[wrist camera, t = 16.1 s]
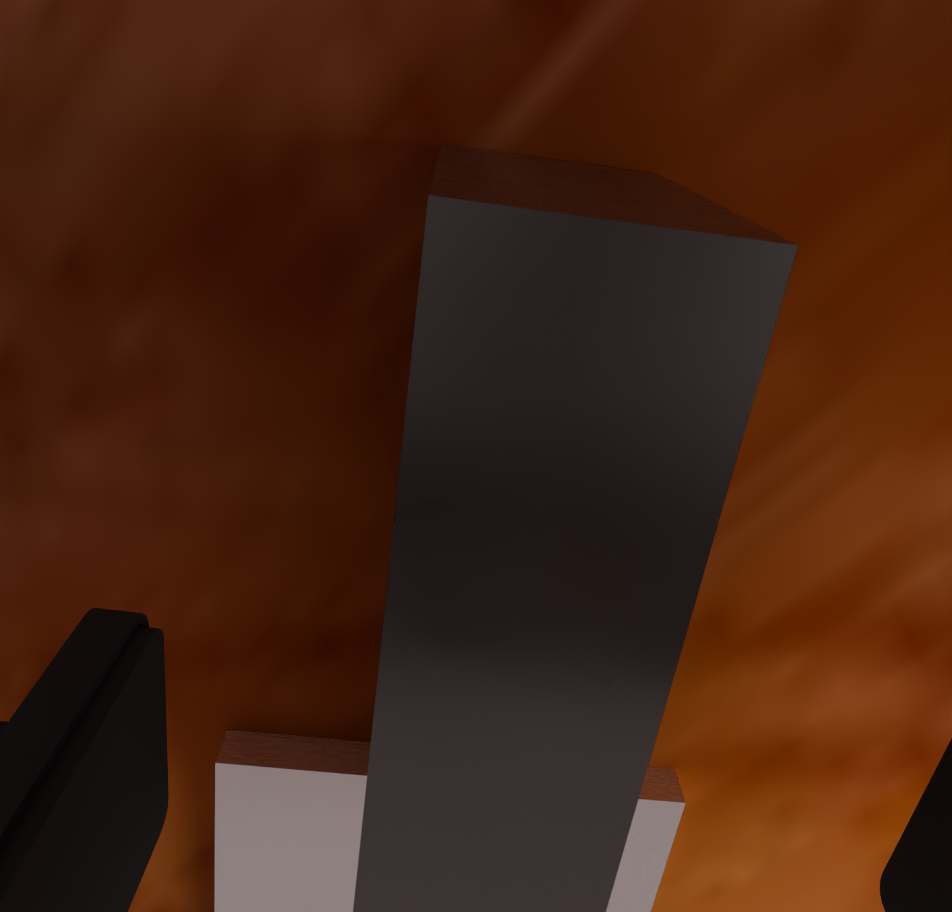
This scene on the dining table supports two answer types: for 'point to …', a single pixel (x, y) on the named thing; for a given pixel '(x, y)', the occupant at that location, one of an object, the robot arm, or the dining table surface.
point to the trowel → (528, 556)
